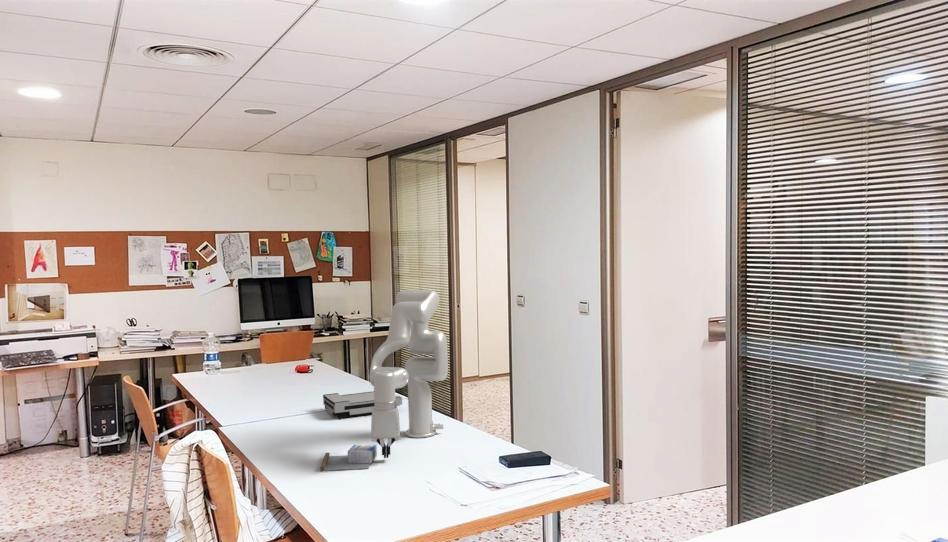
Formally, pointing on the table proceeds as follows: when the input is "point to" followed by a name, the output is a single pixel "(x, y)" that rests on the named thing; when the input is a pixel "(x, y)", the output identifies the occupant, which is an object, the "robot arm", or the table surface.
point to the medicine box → (362, 453)
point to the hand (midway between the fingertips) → (386, 456)
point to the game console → (351, 404)
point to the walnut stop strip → (324, 461)
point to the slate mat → (343, 464)
